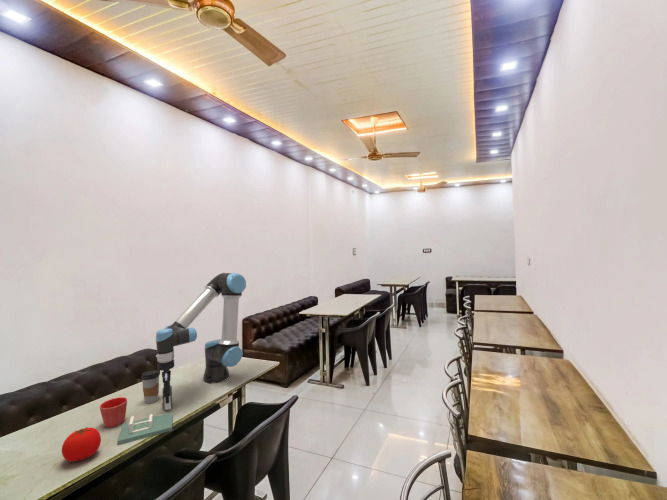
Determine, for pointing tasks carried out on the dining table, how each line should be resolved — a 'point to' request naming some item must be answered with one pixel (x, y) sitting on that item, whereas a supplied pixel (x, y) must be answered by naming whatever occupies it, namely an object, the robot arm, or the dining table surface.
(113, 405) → the flower pot
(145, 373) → the coffee cup
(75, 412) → the dining table surface
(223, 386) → the dining table surface
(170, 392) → the plug
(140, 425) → the board
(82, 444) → the tomato
